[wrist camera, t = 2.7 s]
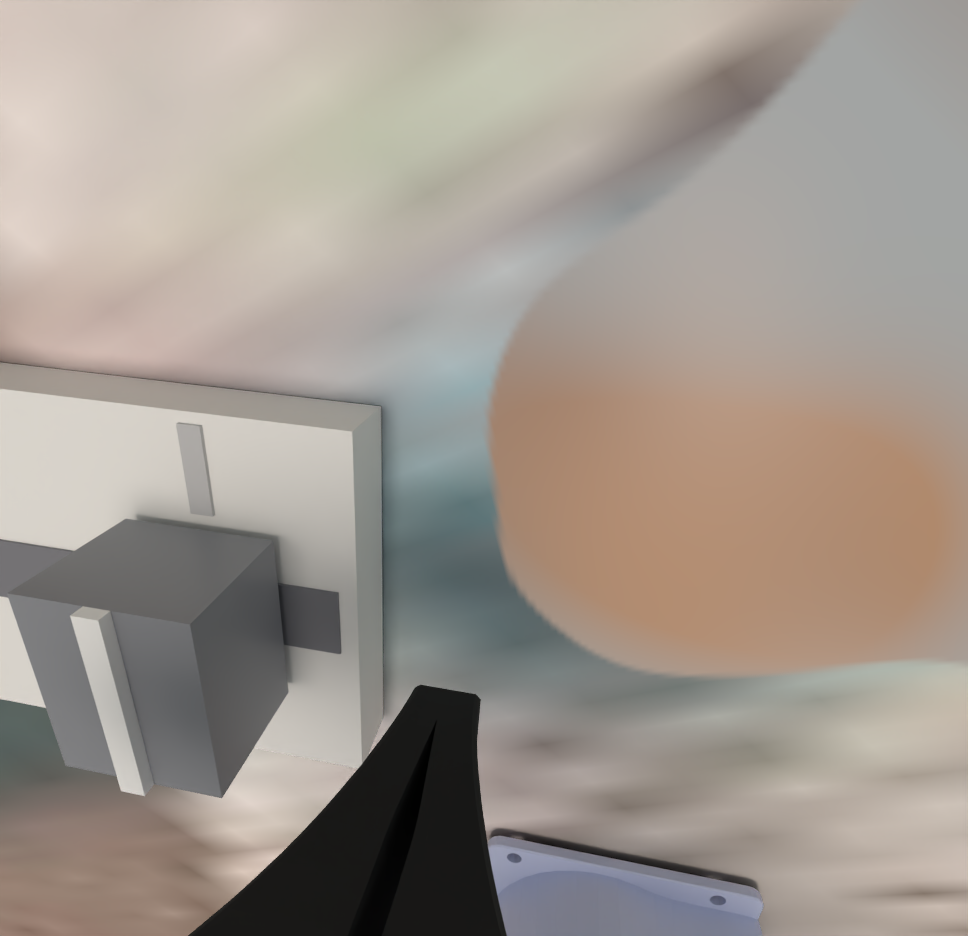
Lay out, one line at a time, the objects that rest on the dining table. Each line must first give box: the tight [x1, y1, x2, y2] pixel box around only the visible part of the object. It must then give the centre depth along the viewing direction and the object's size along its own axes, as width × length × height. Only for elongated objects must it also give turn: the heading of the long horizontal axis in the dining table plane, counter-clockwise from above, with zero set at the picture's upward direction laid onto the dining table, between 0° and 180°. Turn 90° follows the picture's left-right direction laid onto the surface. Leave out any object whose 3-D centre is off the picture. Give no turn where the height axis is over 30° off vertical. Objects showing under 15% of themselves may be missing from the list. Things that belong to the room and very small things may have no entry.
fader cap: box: [7, 519, 288, 798], centre depth 13 cm, size 4×5×4 cm
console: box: [0, 362, 383, 769], centre depth 16 cm, size 17×11×2 cm, turn 86°
